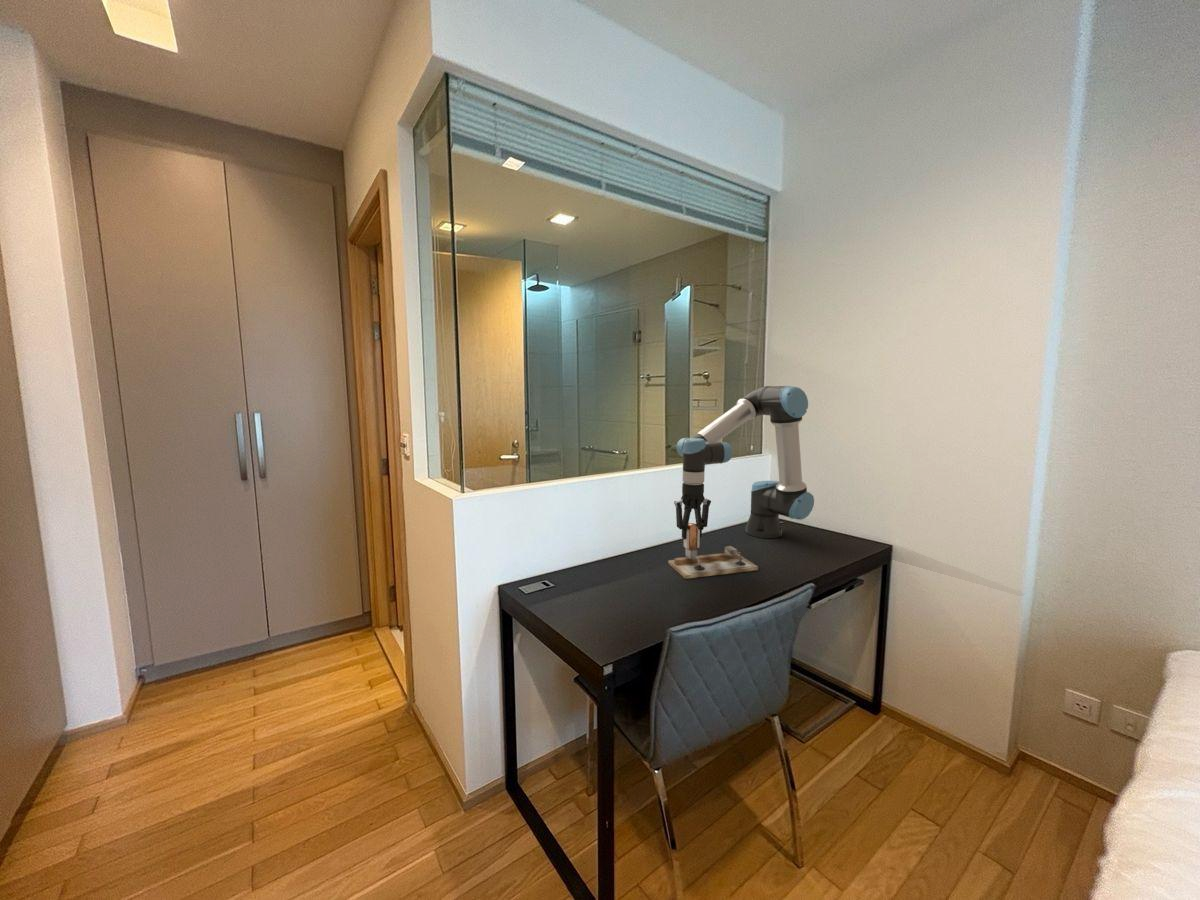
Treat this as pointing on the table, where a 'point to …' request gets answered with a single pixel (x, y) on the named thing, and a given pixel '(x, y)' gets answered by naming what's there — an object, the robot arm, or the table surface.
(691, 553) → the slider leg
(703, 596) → the table surface
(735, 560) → the holed mounting plate
